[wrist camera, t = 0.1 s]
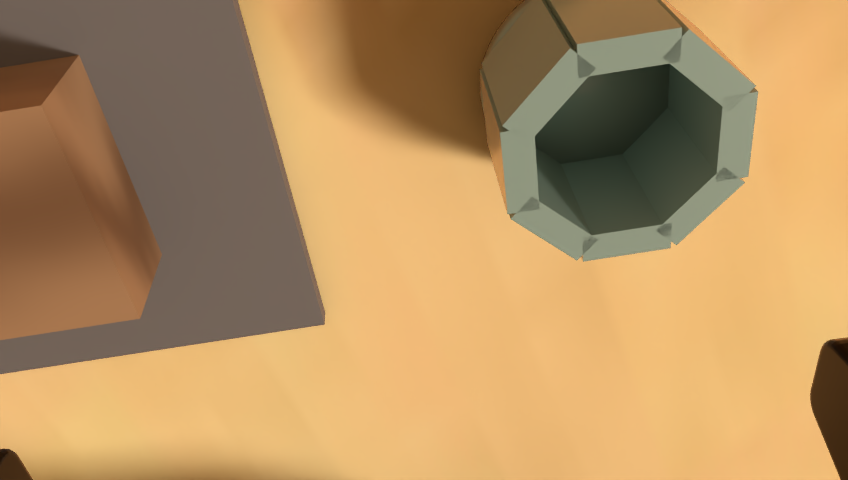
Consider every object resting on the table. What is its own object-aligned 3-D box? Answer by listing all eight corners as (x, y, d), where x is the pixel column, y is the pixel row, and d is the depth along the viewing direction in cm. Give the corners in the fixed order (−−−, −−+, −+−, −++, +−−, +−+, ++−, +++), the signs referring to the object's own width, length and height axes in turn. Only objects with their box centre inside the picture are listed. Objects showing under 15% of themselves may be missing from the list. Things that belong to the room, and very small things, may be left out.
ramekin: (682, 153, 24) (740, 236, 21) (489, 183, 24) (513, 272, 21) (694, -45, 21) (767, 13, 17) (468, -8, 21) (492, 57, 17)
